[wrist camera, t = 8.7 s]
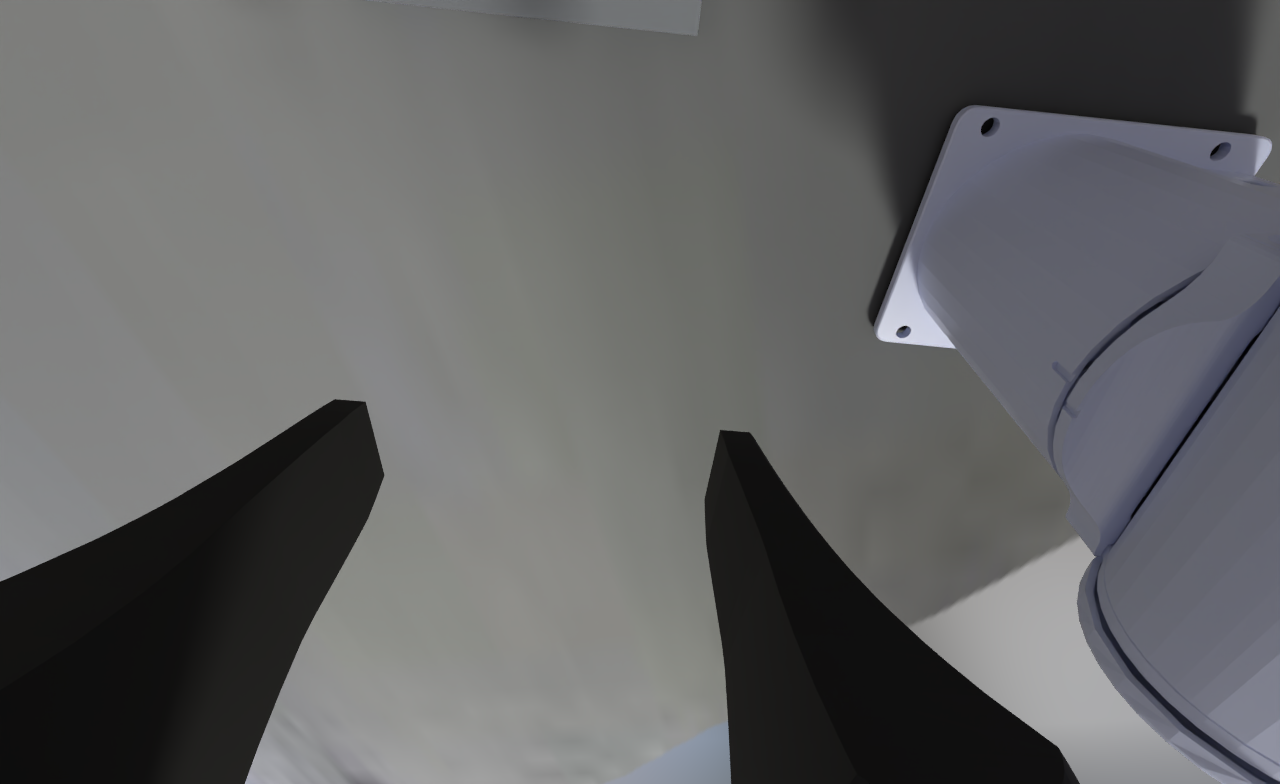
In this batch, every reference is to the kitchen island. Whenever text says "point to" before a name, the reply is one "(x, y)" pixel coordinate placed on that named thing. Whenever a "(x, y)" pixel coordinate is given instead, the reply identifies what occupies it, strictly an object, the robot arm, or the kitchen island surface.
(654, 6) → the pin tray
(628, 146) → the kitchen island surface
